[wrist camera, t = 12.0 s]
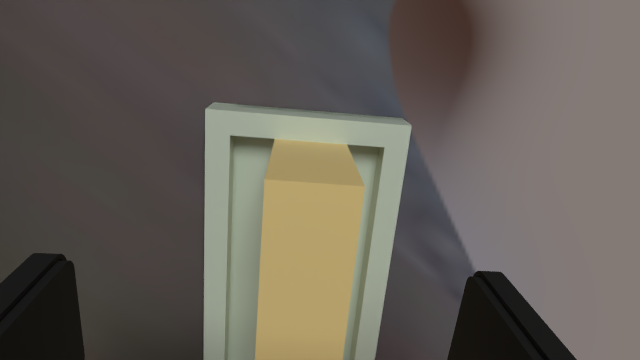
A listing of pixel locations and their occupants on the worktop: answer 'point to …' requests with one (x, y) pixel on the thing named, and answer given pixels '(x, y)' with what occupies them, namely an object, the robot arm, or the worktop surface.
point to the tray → (247, 211)
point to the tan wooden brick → (307, 250)
